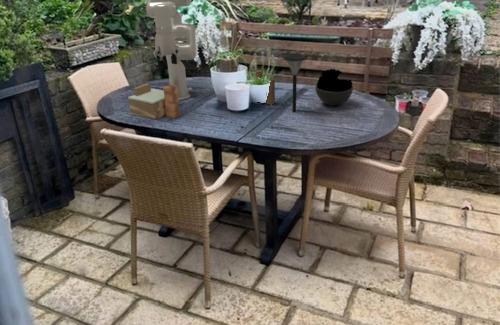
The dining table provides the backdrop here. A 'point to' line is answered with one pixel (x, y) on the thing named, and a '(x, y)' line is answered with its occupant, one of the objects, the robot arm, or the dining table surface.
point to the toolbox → (147, 109)
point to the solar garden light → (294, 72)
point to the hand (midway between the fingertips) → (167, 66)
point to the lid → (147, 94)
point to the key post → (171, 101)
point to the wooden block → (271, 89)
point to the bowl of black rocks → (333, 88)
